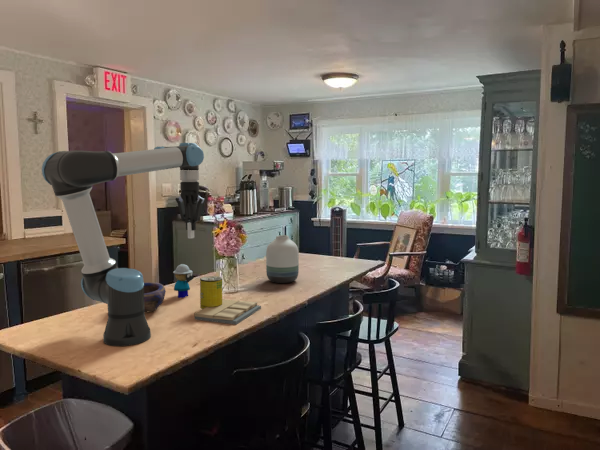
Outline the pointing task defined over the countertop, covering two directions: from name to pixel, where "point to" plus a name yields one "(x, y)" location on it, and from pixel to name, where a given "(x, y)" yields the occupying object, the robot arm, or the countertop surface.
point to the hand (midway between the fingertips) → (191, 238)
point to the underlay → (208, 313)
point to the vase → (282, 260)
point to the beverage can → (210, 291)
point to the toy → (183, 280)
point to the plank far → (243, 305)
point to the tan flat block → (228, 314)
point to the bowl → (153, 296)
